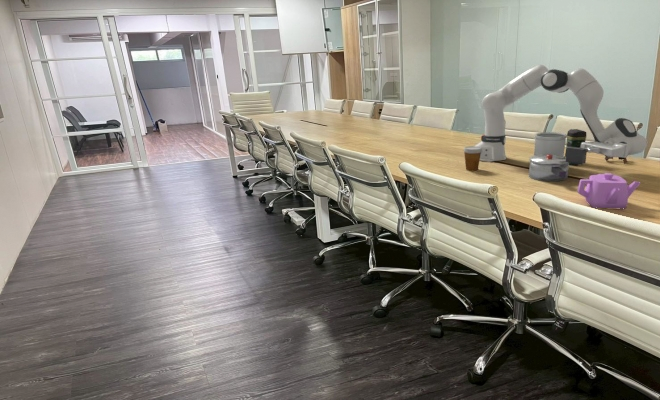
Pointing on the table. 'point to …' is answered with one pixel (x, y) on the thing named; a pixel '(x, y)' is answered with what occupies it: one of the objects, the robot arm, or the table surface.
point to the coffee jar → (575, 140)
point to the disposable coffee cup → (472, 157)
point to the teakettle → (606, 190)
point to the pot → (548, 172)
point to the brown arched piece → (618, 157)
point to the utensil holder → (550, 143)
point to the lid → (562, 157)
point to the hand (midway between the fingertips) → (586, 150)
